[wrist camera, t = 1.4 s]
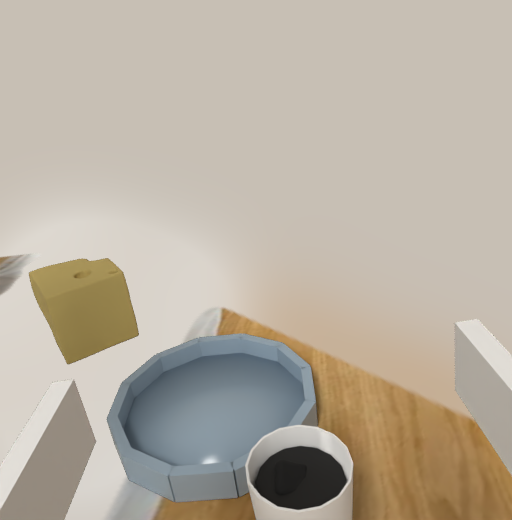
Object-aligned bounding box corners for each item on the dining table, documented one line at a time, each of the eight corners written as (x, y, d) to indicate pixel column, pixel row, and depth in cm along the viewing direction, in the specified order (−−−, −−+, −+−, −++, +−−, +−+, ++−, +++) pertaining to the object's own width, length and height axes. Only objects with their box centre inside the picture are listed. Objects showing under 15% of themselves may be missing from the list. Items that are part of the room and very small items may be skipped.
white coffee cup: (259, 619, 31) (239, 513, 27) (265, 524, 37) (249, 426, 33) (364, 621, 30) (359, 512, 26) (353, 524, 36) (348, 423, 32)
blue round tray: (74, 453, 46) (65, 429, 45) (197, 342, 61) (193, 322, 60) (249, 538, 36) (244, 511, 35) (345, 380, 51) (344, 357, 50)
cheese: (118, 308, 73) (102, 248, 69) (143, 337, 64) (126, 270, 60) (48, 334, 68) (26, 271, 64) (64, 370, 59) (40, 300, 55)
